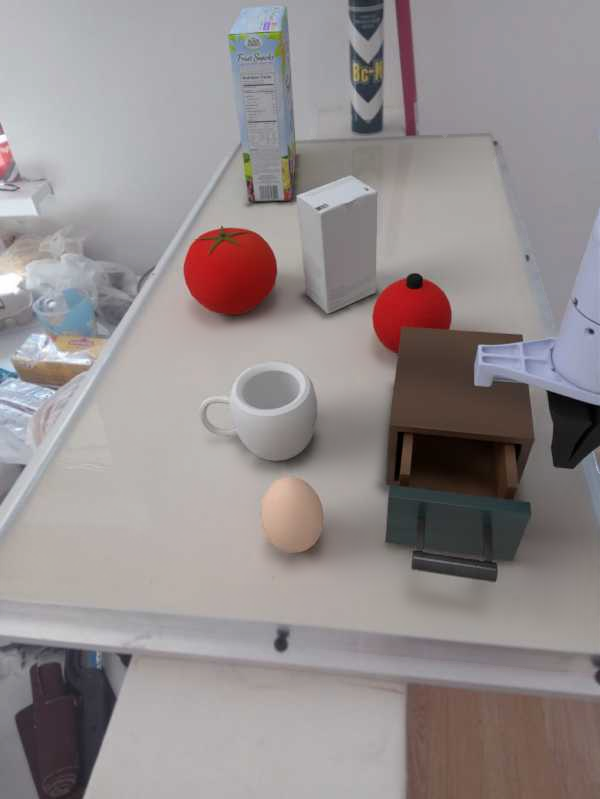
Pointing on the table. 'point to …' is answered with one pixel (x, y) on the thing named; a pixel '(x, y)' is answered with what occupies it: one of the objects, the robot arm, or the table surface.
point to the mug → (269, 410)
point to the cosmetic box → (339, 242)
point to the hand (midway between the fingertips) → (562, 457)
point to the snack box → (264, 101)
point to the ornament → (409, 309)
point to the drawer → (457, 504)
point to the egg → (292, 515)
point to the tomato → (230, 270)
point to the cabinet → (454, 395)
